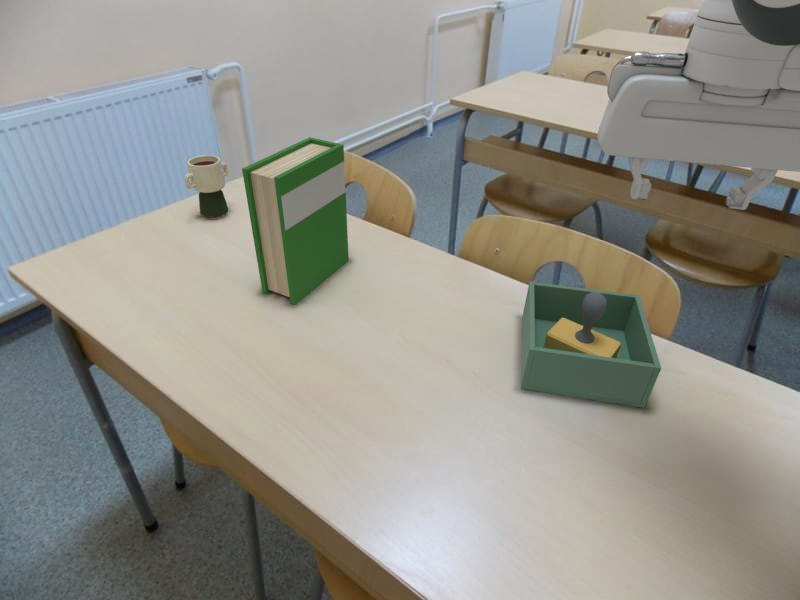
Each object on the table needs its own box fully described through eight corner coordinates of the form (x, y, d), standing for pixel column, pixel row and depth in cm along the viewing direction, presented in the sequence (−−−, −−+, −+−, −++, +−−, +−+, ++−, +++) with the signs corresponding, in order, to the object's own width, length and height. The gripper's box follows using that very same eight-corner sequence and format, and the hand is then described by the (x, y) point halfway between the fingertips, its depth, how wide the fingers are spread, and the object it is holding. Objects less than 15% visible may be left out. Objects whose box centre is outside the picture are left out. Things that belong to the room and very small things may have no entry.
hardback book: (294, 304, 93) (278, 178, 79) (262, 292, 96) (242, 168, 82) (348, 260, 106) (343, 144, 92) (319, 250, 108) (309, 137, 94)
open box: (626, 332, 89) (639, 295, 84) (644, 408, 75) (661, 368, 70) (522, 318, 91) (529, 281, 87) (520, 388, 77) (529, 349, 73)
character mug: (224, 202, 126) (214, 150, 119) (243, 210, 123) (234, 157, 115) (185, 217, 119) (172, 163, 112) (204, 227, 116) (191, 171, 108)
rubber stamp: (616, 359, 82) (638, 298, 75) (601, 379, 78) (623, 316, 71) (557, 333, 87) (573, 273, 80) (541, 350, 83) (556, 289, 76)
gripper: (621, 56, 44) (584, 204, 53) (888, 72, 41) (805, 227, 49) (612, 43, 49) (579, 180, 58) (849, 57, 46) (779, 199, 55)
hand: (685, 202), depth 54 cm, fingers open, 8 cm apart
